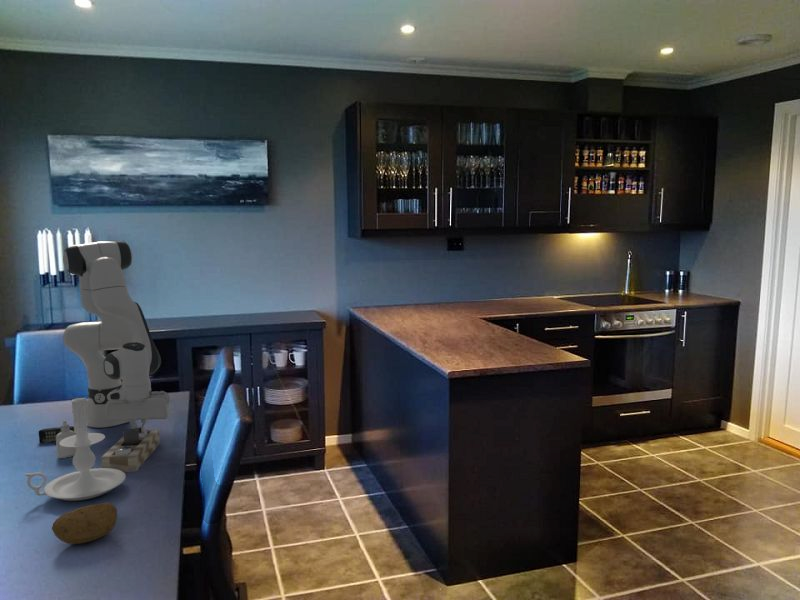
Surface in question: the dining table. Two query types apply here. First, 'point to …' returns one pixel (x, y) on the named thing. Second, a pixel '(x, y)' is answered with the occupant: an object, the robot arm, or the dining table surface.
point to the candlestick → (80, 464)
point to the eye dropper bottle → (66, 432)
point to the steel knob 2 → (143, 434)
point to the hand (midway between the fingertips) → (139, 432)
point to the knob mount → (135, 457)
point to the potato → (85, 523)
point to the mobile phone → (50, 434)
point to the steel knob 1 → (123, 450)
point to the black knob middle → (131, 437)
